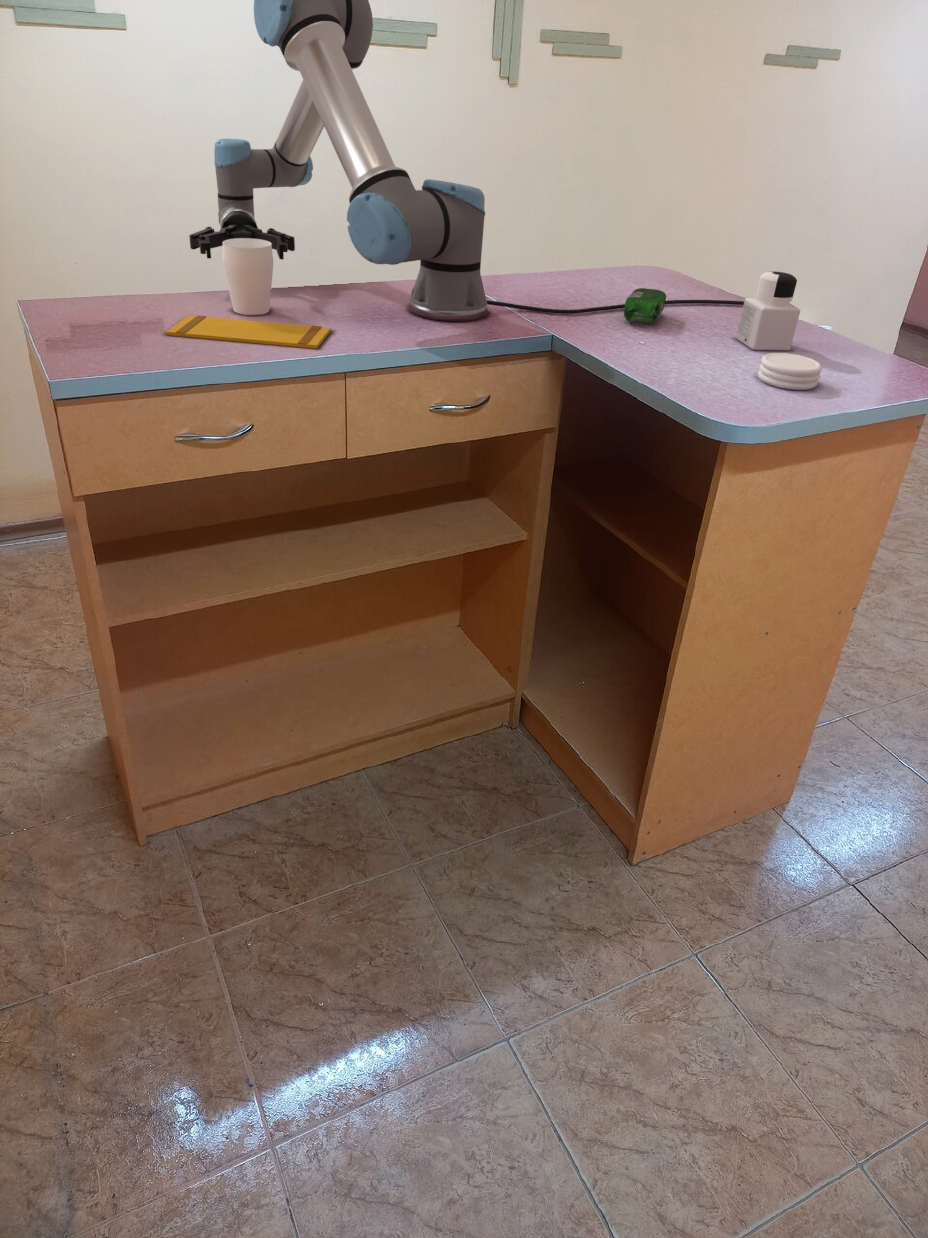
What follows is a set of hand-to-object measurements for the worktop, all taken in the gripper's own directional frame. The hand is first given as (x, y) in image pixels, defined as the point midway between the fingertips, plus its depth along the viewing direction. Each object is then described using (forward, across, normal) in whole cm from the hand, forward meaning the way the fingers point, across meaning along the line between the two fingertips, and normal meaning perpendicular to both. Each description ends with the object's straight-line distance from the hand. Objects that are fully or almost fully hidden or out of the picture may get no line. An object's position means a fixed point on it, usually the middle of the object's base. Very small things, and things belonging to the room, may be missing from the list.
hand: (245, 251), depth 171 cm
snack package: (+17, -77, -9) cm, 79 cm away
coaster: (+56, -86, -8) cm, 103 cm away
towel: (+24, +1, -9) cm, 25 cm away
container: (+35, -94, -8) cm, 101 cm away
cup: (+9, 0, -9) cm, 13 cm away
